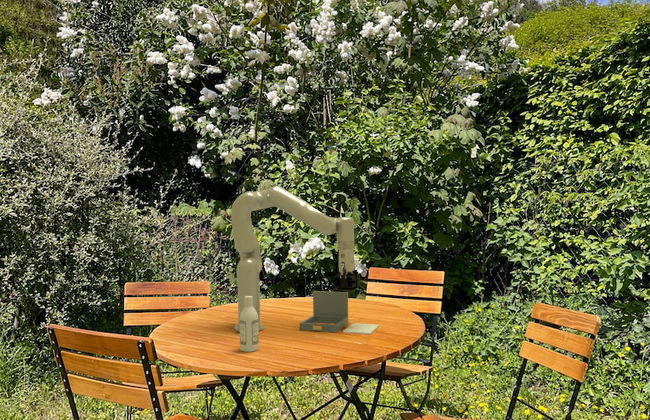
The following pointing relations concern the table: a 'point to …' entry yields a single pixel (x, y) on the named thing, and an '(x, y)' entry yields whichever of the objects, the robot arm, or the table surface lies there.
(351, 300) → the table surface
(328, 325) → the equipment case
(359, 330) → the grey mat
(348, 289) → the end cap
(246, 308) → the bath foam
